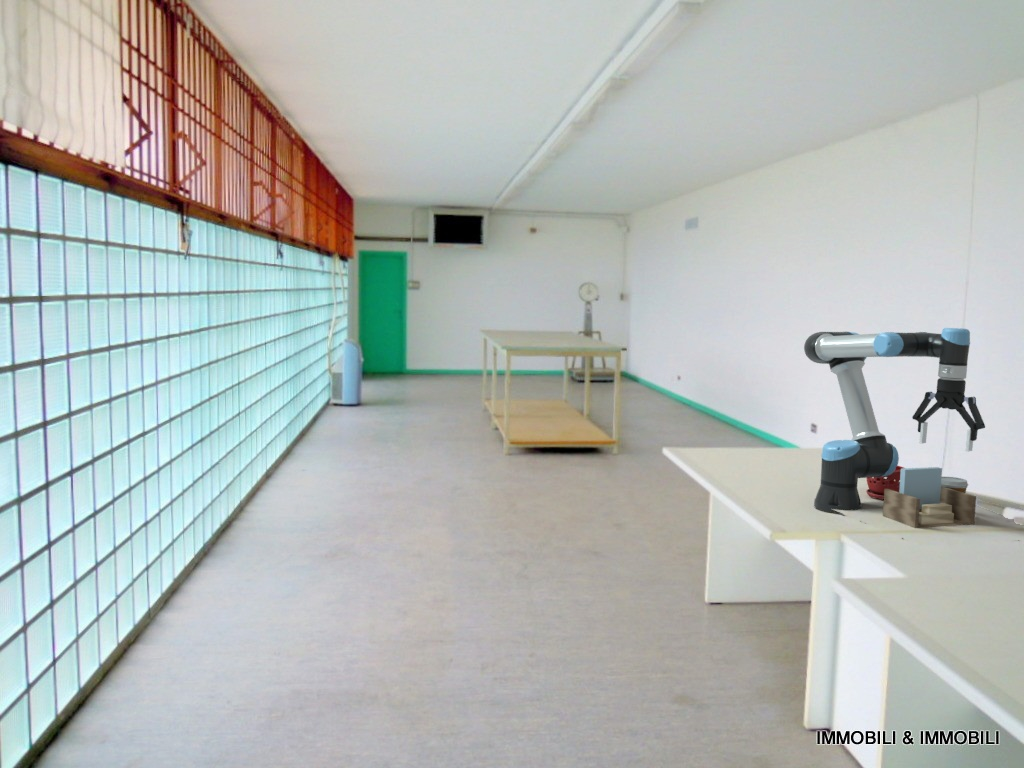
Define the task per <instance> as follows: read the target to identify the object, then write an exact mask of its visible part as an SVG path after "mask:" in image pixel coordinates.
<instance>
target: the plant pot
mask: <svg viewBox="0 0 1024 768" xmlns="http://www.w3.org/2000/svg"><path fill="white" fill-rule="evenodd" d="M901 468H905V467H904V466H900V465H897V467H896V469H895V471H894V472H893V473H892V474H890V475H888V476H883V477H879V478H877V477H869V478H866V484H867V487H868V489H866V491H865V492H866V494H867V495H868V497H870V496H871V497H870V498H872V497H874V498H873V499H875V498H879V499H878V500H880V499H884V489H890V490H893V491H896V492H899V489H900V473H901Z"/></svg>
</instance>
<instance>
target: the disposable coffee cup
mask: <svg viewBox="0 0 1024 768" xmlns="http://www.w3.org/2000/svg"><path fill="white" fill-rule="evenodd" d="M941 486H942V487H945V488H949V489H952V490H956V491H960V492H963V493H967V488H968V486H969V484H968V480H967V479H964V478H961V477H955V476H942V478H941Z"/></svg>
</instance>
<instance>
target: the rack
mask: <svg viewBox="0 0 1024 768" xmlns="http://www.w3.org/2000/svg"><path fill="white" fill-rule="evenodd" d="M940 503H946V504H949V505H952V513H954V521H953V523H937V524H919V523H918V522H919V512H921V511H922V509H919V507H920V499H918V498H915V497H912V496H909V495H906V494H903V493H899V492H896V491H893V490H890V489H884V500H883V508H882V509H883V510H882V517H883V518H887V519H889V520H892V521H895V522H897V523H900V524H902V525H905V526H909V527H911V528H914V529H920V528H921V529H922V528H924V529H925V528H937V527H939V528H940V527H954V526H956V527H957V526H970V525H971V526H973V525H975V518H976V508H977V507H976V504H977V496H976V495H974V494H969V493H967V492H966V493H963V492H960V491H956V490H952V489H949V488H945V487H942V486H941V492H940Z"/></svg>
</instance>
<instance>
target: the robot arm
mask: <svg viewBox="0 0 1024 768" xmlns="http://www.w3.org/2000/svg"><path fill="white" fill-rule="evenodd" d="M970 346H971V332H970V329H968V328H959V327H957V328H956V327H945V328H942V331H941V333H935V332H926V331H924V332H923V331H919V332H917V331H916V332H893V331H890V332H889V331H888V332H881V333H866V334H865V333H864V334H859V333H858V332H852V331H819V332H814V333H812V334H811V335H810V336H808V337H807V338H806V340H805V342H804V346H803V349H804V354H805V356H806V357H807V358H808V359H809V360H810V361H811V362H813V363H816V364H823V365H825V364H827V365H829V368H830V372H831V373H833V374H835V375H836V378H837V382H838V385H839V390H840V393H841V396H842V400H843V401H842V402H843V404H844V407H845V412H846V415H847V420H848V424H849V426H850V431H851V435H852V438H851V440H850V439H843V440H842V439H837V440H832V441H831V440H830V441H827V442H826V443H824V445H823V446H822V452H821V455H820V456H821V469H820V472H821V473H820V485H819V488H818V491H817V493H816V496H815V498H814V500H813V507H814V506H815V507H816V508H815V507H814V508H815V509H817V510H819V511H822V512H826V513H831V514H838V515H839V514H840V515H844V513H842V512H840V511H858V510H861V509H862V508H863V504H862V501H861V497H860V494H859V491H858V480H859V479H867V478H869V477H872V478H874V477H877V478H879V477H883V476H888V475H890V474H892V473H893V472H894V471H895V469H896V467H897V466H899V461H900V460H899V458H900V457H899V451H898V449H897V448H896V446H894V445H893V444H892V443H889V442H888V441H887V437H886V435H885V434H883V433H881V432H880V430H879V427H878V426H879V425H878V423H877V420H876V415H875V412H874V409H873V406H872V400H871V398H870V394H869V392H868V391H869V390H868V386H867V384H866V380H865V376H864V373H863V368H864V366H865V364H866V362H865V361H866V359H867V358H872V357H873V358H878V357H879V358H880V357H881V358H883V357H884V358H894V357H897V358H899V357H902V358H903V357H909V358H911V357H914V358H915V357H916V358H917V357H920V358H921V357H923V358H924V357H925V358H926V357H927V358H937V359H938V360H939V361H938V373H937V376H938V379H937V383H936V391H935V392H936V393H935V392H933V391H926V392H925V394H924V398H923V400H922V401H921V403H920V404H919V406H918V408H917V409H916V410H915V412H914V414H913V415H912V417H911V418H912V420H915V421H917V422H918V424H917V432H918V433H919V442H918V443H919V444H926V443H927V434H928V421H927V420H928V419H929V418H931V416H932V415H934V414H935V413H936V412H938V410H939V409H941V408H942V409H948V410H955V411H957V412H958V414H959V415H960V416H961V418H962V419H963V420H964V422H965V423H966V425H967V426H968V427H969V429H967V433H966V442H965V452H972V451H973V447H974V446H973V445H974V444H973V443H974V442H975V441H977V439H978V430H982V429H983V430H984V429H985V428H986V424H985V422H984V420H983V417H982V415H981V412H980V411H979V407H978V406H977V398H976V397H975V396H966V395H965V392H966V380H965V379H967V371H968V361H969V352H970ZM933 399H935V401H936V402H935V403H934V404H933V405H931V407H930V408H929V409H928V410H927V407H928V406H929V404H930V403H931V401H932V400H933ZM964 402H966V404H967V405H968V408H969V411H970V413H971V415H970V414H969V412H968V411H967V410H966V407H965V406H964V404H963V403H964ZM925 410H927V411H925Z"/></svg>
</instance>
